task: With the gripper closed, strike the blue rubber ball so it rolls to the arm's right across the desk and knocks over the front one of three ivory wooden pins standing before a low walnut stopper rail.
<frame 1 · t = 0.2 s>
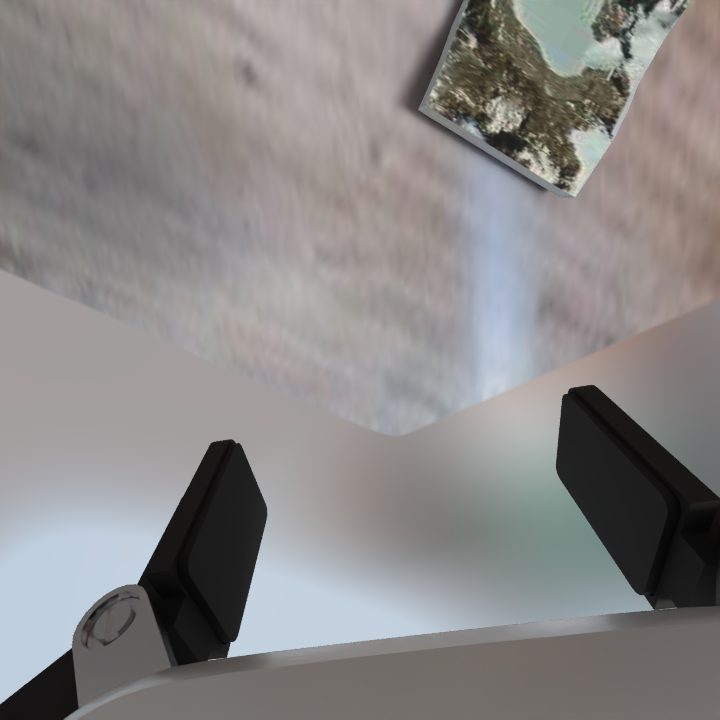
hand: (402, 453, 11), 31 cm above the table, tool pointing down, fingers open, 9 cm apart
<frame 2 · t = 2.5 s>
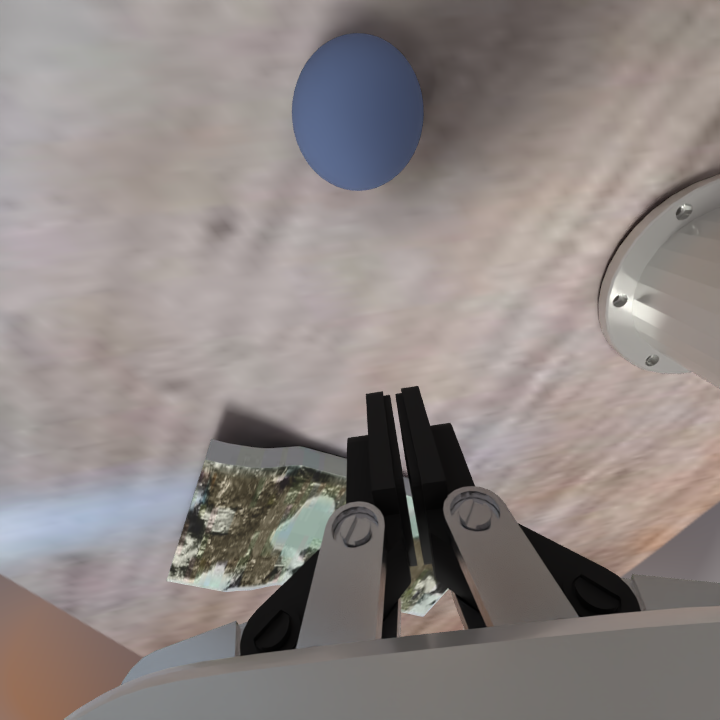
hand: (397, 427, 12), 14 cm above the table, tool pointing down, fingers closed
ball: (357, 119, 17), on the table
topographical model: (338, 520, 35), on the table
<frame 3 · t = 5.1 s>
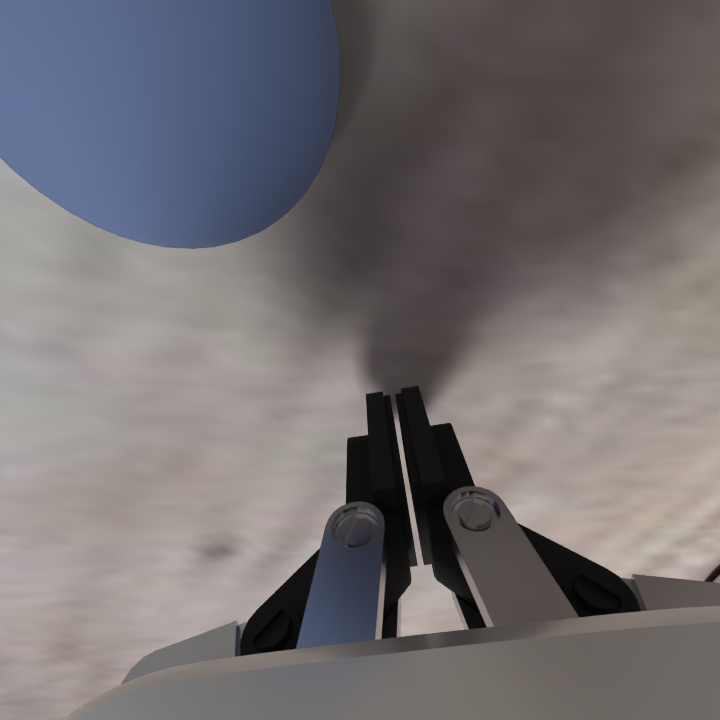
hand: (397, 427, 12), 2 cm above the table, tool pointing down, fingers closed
ball: (166, 67, 6), on the table
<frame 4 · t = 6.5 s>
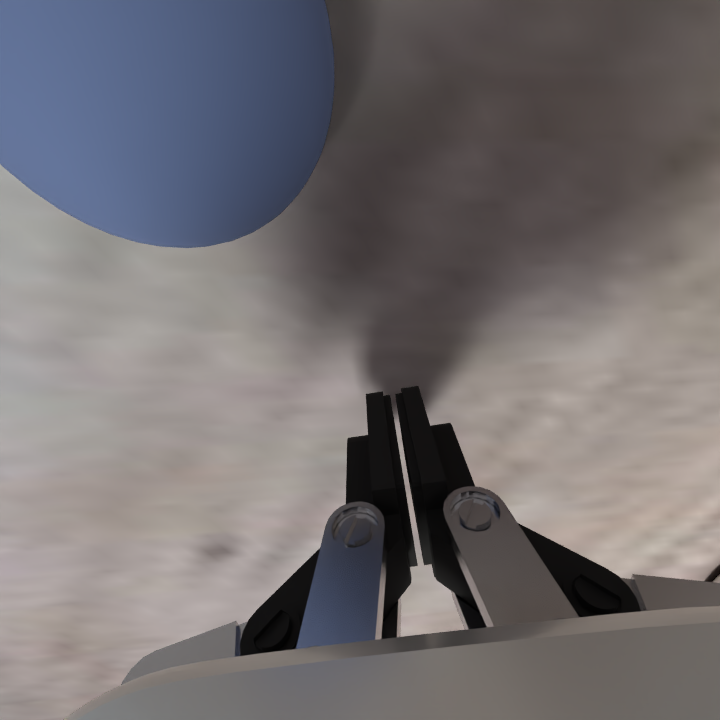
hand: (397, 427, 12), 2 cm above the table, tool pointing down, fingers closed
ball: (160, 66, 6), on the table
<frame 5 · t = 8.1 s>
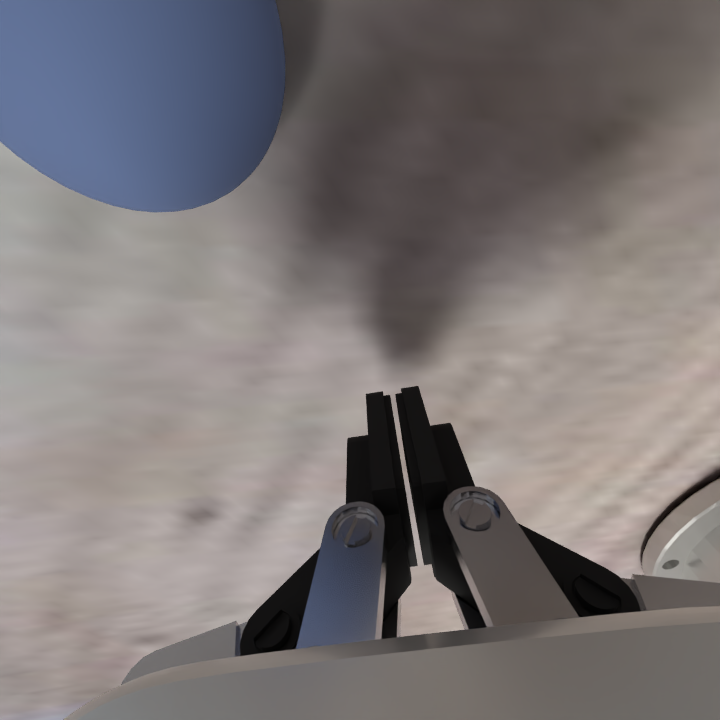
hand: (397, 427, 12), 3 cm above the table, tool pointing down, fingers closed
ball: (129, 47, 7), on the table
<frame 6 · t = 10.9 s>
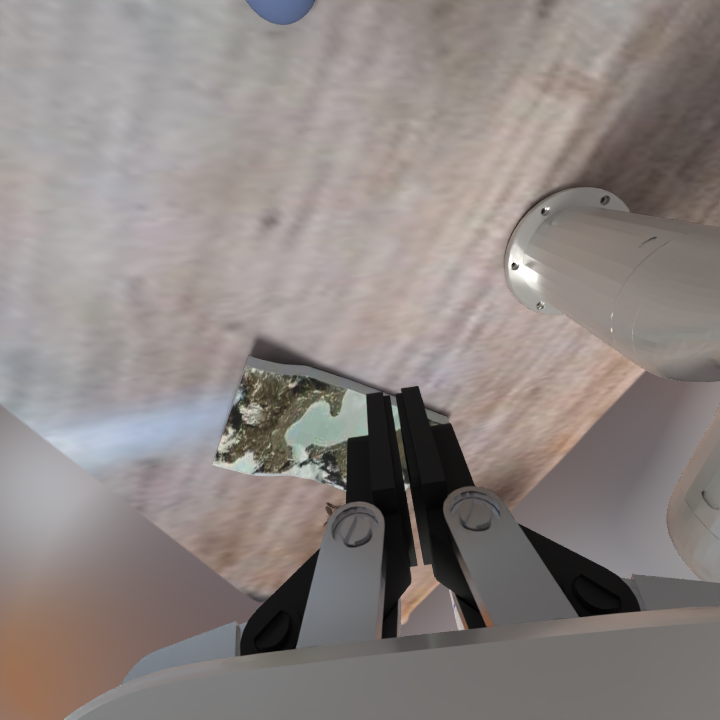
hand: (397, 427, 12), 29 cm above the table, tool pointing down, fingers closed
topographical model: (332, 427, 49), on the table
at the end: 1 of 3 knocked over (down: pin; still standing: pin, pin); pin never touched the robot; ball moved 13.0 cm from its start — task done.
